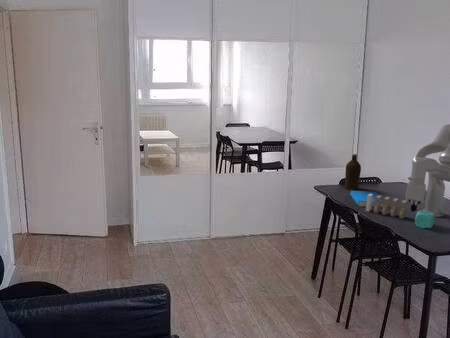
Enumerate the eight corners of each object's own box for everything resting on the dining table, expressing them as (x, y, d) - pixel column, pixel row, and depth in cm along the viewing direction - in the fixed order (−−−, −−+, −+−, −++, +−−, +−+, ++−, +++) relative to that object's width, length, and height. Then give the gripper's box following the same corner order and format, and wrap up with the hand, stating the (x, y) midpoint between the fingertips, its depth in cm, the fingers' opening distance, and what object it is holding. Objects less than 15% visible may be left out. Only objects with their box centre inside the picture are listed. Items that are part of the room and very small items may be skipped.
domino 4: (404, 216, 278) (406, 200, 276) (402, 218, 274) (404, 202, 272) (401, 215, 279) (403, 199, 277) (399, 218, 275) (401, 201, 273)
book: (375, 191, 318) (386, 201, 294) (374, 197, 319) (385, 208, 295) (350, 190, 319) (358, 200, 294) (349, 196, 320) (357, 206, 295)
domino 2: (387, 213, 284) (389, 197, 281) (385, 215, 280) (387, 199, 277) (384, 212, 285) (386, 196, 282) (382, 214, 281) (383, 198, 278)
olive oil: (358, 191, 331) (361, 156, 326) (342, 189, 335) (346, 155, 329) (359, 187, 341) (363, 154, 335) (344, 185, 345) (348, 152, 339)
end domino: (371, 209, 289) (373, 194, 287) (368, 211, 285) (370, 195, 283) (368, 209, 290) (369, 193, 288) (365, 210, 286) (367, 195, 284)
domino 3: (396, 214, 281) (398, 198, 279) (393, 216, 277) (395, 200, 275) (392, 214, 282) (394, 198, 280) (390, 216, 278) (392, 200, 276)
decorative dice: (418, 222, 268) (420, 209, 266) (433, 226, 263) (435, 212, 261) (414, 226, 262) (416, 212, 260) (428, 229, 257) (430, 216, 255)
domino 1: (379, 211, 286) (381, 195, 284) (377, 213, 282) (378, 197, 280) (376, 210, 287) (378, 195, 285) (373, 212, 283) (375, 196, 281)
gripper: (402, 179, 269) (398, 209, 273) (429, 184, 261) (425, 215, 265) (405, 177, 275) (401, 207, 279) (432, 181, 267) (428, 212, 271)
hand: (413, 211), depth 272 cm, fingers closed
